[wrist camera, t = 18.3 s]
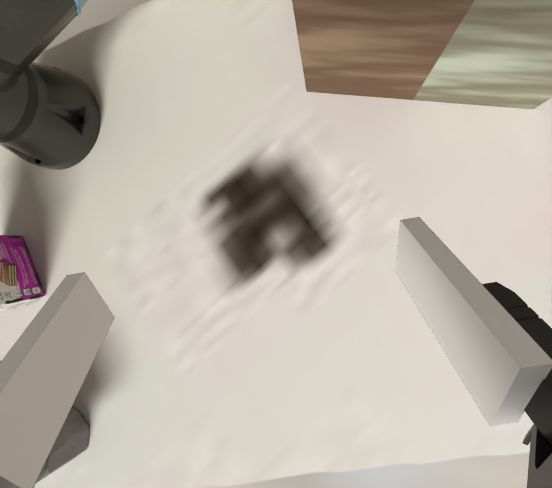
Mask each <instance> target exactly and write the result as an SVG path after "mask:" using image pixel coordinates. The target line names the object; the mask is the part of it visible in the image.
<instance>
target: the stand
mask: <svg viewBox="0 0 552 488" xmlns="http://www.w3.org/2000/svg"><path fill="white" fill-rule="evenodd" d="M292 2H293V9H294V15H295V21H296V27H297V34H298V40H299V46H300V52H301V58H302V65H303V71H304V77H305V83H306V89H307V92H319V93H332V94H344V95H357V96H370V97H383V98H396V99H409V100H422V101H435V102H447V103H460V104H473V105H486V106H499V107H512V108H525V109H534V108H536V107H537V106H539V105H541V104H542V103H544V102H545V101H547V100H549V99H550V98H552V0H292Z"/></svg>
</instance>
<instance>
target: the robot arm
mask: <svg viewBox="0 0 552 488" xmlns="http://www.w3.org/2000/svg"><path fill="white" fill-rule="evenodd" d="M86 1H87V0H0V145H1V146H3V147H4V148H6V149H8V150H9V151H11V152H12V153H14V154H16V155H17V156H19V157H21V158H22V159H24V160H26V161H27V162H29V163H31V164H34V165H37V166H41V167H45V168H49V169H65V168H69V167H71V166H74V165H75V164H77V163H79V162H80V161H81V160H82V159H83V158H84V157H85V156H86V155H87V154H88V153H89V152H90V150H91V148H92V147H93V145H94V143H95V140H96V138H97V134H98V130H99V110H98V106H97V102H96V100H95V97H94V95H93V94H92V92H91V90H90V89H89V88H88V87H87V86H86V85H85V84H84V83H83V82H82V81H81V80H79V79H78V78H76V77H74V76H73V75H71V74H70V73H68V72H66V71H64V70H61V69H59V68H55V67H49V66H45V65H42V64H37V63H33V61H34V60H35V59H36V58H37V57H38V56H39V55H40V53H41V52H42V51H43V50H44V49H45V48H46V47H47V46H48V45H49V44H50V43H51V42H52V41H53V40H54V39H55V37H56V36H58V34H59V33H60V32H61V31H62V30H63V29H64V28H65V27H66V26H67V25H68V24H69V23H70V22H71V21H72V20H73V18H75V16H77V15H79V14H80V11H81V8H82V6H83V5H84V4H85V2H86ZM395 272H396V274H397V276H398V277H399V279H400V280H401V282H402V284H403V285H404V287H405V289H406V290H407V292H408V293H409V295H410V297H411V298H412V300H413V302H414V303H415V305H416V307H417V308H418V310H419V311H420V313H421V315H422V316H423V318H424V320H425V321H426V323H427V324H428V326H429V328H430V329H431V331H432V333H433V334H434V336H435V338H436V339H437V341H438V342H439V344H440V346H441V347H442V349H443V351H444V352H445V354H446V355H447V357H448V359H449V360H450V362H451V364H452V365H453V367H454V369H455V370H456V372H457V373H458V375H459V377H460V378H461V380H462V382H463V383H464V385H465V386H466V388H467V390H468V391H469V393H470V395H471V396H472V398H473V400H474V401H475V403H476V404H477V406H478V408H479V409H480V411H481V413H482V414H483V416H484V417H485V419H486V421H487V422H488V424H489V426H494V425H501V424H508V423H515V422H518V421H519V419H520V418H521V416H522V415H523V413H524V411H525V412H526V413H527V415H528V416H529V417H530V419H531V420H532V421H533V423H534V424H533V426H532V427H531V429H530V430H529V432H528V433H527V434H526V436H525V438H524V441H523V443H524V444H526V445H528V444H529V443H530V441H531V443H530V455H529V468H528V481H527V488H552V328H551V327H550V326H549V325H548V324H547V323H546V322H545V321H543V320H542V319H540V318H539V317H538V315H537V314H536V313H535V312H534V311H533V310H532V309H531V308H528V306H527V304H526V303H525V302H524V301H523V300H522V299H521V298H520V297H519V296H518V295H517V294H516V293H515V292H513V291H512V290H510V289H508V288H506V287H504V286H503V285H501V284H499V283H497V282H493V283H487V284H481V283H480V282H479V281H478V280H477V279H476V277H475V276H474V275H473V274H472V273H471V272H470V271H469V270H468V269H467V268H466V267H465V266H464V265H463V263H462V262H461V261H460V260H459V259H458V258H457V257H456V256H455V255H454V254H453V253H452V252H451V251H450V250H449V248H448V247H447V246H446V245H445V244H444V243H443V242H442V241H441V240H440V239H439V238H438V237H437V236H436V234H435V233H434V232H433V231H432V230H431V229H430V228H429V227H428V226H427V225H426V224H425V223H424V222H423V220H422V219H421V218H420V217H416V218H410V219H404V220H400V228H399V238H398V249H397V259H396V270H395ZM113 320H114V315H113V314H112V312H111V311H110V309H109V308H108V306H107V305H106V303H105V302H104V300H103V299H102V297H101V296H100V294H99V293H98V291H97V290H96V288H95V287H94V285H93V284H92V282H91V281H90V279H89V278H88V276H87V275H86V273H85V272H83V273H77V274H71V275H67V276H66V277H65V278H64V280H63V281H62V282H61V284H60V285H59V286H58V288H57V289H56V290H55V292H54V293H53V294H52V296H51V297H50V298H49V299H48V301H47V302H46V303H45V305H44V306H43V307H42V309H41V310H40V311H39V313H38V314H37V315H36V316H35V318H34V319H33V320H32V322H31V323H30V324H29V326H28V327H27V328H26V330H25V331H24V332H23V334H22V335H21V336H20V337H19V339H18V340H17V341H16V343H15V344H14V345H13V347H12V348H11V349H10V351H9V352H8V353H7V355H6V356H5V357H4V358H3V360H2V361H0V488H33V486H34V484H35V482H36V480H37V478H38V476H39V474H40V472H41V469H42V467H43V465H44V463H45V461H46V459H47V457H48V455H49V453H50V451H51V449H52V447H53V444H54V442H55V440H56V438H57V436H58V434H59V432H60V430H61V428H62V426H63V424H64V422H65V419H66V417H67V415H68V413H69V411H70V409H71V407H72V405H73V403H74V401H75V399H76V397H77V395H78V392H79V390H80V388H81V386H82V384H83V382H84V380H85V378H86V376H87V374H88V372H89V370H90V367H91V365H92V363H93V361H94V359H95V357H96V355H97V353H98V351H99V349H100V347H101V345H102V342H103V340H104V338H105V336H106V334H107V332H108V330H109V328H110V326H111V324H112V322H113Z"/></svg>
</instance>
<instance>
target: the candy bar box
mask: <svg viewBox="0 0 552 488" xmlns="http://www.w3.org/2000/svg"><path fill="white" fill-rule="evenodd" d="M43 296H45V294H44V292H43V289H42V287H41V284H40V282H39V279H38V277H37V274H36V272H35V269H34V266H33V264H32V261H31V259H30V256H29V253H28V251H27V248H26V246H25V243H24V240H23V238H22V236H5V235H0V311H2V310H7V309H11V308H16V307H20V306H24V305H26V304H28V303H30V302H32V301H35V300H37V299H39V298H41V297H43Z"/></svg>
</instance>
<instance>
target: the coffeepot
mask: <svg viewBox="0 0 552 488" xmlns="http://www.w3.org/2000/svg"><path fill="white" fill-rule="evenodd" d="M88 441H89V427H88V424H87V422H86V420H85V418H84V417H83V415H82V414H81V413H80V412H79V411H78V410H77V409H75V408H73V407H71V409H70V411H69V413H68V415H67V417H66V419H65V422H64V424H63V426H62V428H61V430H60V432H59V434H58V436H57V438H56V440H55V442H54V444H53V447H52V449H51V451H50V453H49V455H48V457H47V459H46V461H45V463H44V465H43V467H42V469H41V472H40V474H39V476H38V478H37V480H36V482H35V484H36V483H37V482H38V481H40V480H41V479H43V478H44V477H46V476H48V475H49V474H51V473H52V472H54V471H55V470H57V469H58V468H60V467H61V466H63V465H65V464H66V463H68V462H69V461H71V460H72V459H74V458H75V457H76V456H78V455H79V454H81V453H82V452H83V451H85V450H86V449H87V445H88ZM35 484H34V486H35ZM34 486H33V488H34Z"/></svg>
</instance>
